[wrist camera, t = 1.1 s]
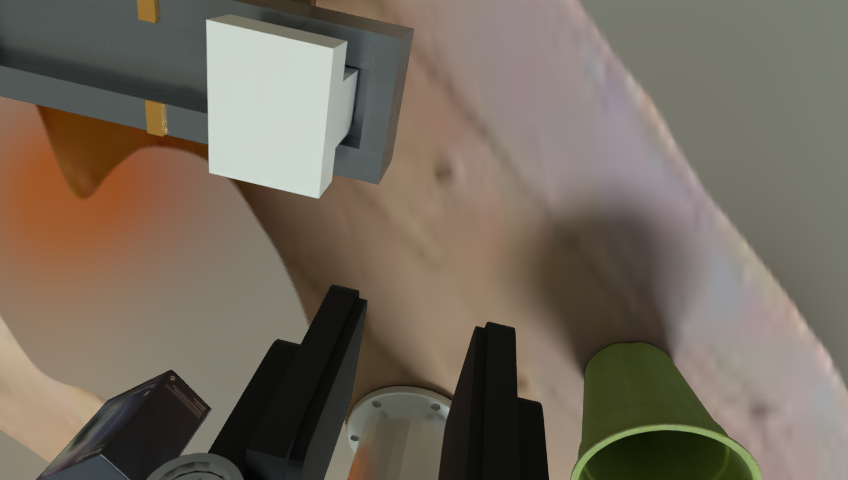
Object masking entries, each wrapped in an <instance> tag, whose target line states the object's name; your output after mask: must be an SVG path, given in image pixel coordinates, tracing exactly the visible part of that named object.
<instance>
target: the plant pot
mask: <svg viewBox="0 0 848 480" xmlns="http://www.w3.org/2000/svg"><path fill="white" fill-rule="evenodd" d="M570 480H762V476H761V472H760V469H759V466H758V464H757V462H756V461H755V459H754V458H753V456H752V455H751V454H750V453H749V452H748V451H747V450H746V449H745V448H744V447H743V446H742V445H740V444H739V443H738V442H736V441H735V440H733V439H732V438H730V437H729V436H728V435H727V433H726V432H725V431H724V430H723V428H722V427H721V426H720V425H719V424H718V423H717V422H715V421H714V420H713V419H712V417H711V416H710V414H709V413H708V412H707V410H706V409H705V407H704V406H703V405H702V403H701V402H700V400H699V399H698V397H697V396H696V395H695V393H694V392H693V390H692V389H691V388H690V386H689V385H688V383H687V382H686V380H685V379H684V377H683V376H682V375H681V373H680V372H679V370H678V369H677V367H676V366H675V364H674V363H673V362H672V360H671V359H670V358H669V356H668V355H667V354H666V353H665V352H663V351H662V350H661V349H659V348H657V347H655V346H653V345H650V344H647V343H643V342H636V343H617V344H613V345H610V346H608V347H606V348H604V349H602V350H601V351H599V352H598V353H596V354H595V355H594V356H593V357H592V359H591V360H590V361H589V363H588V365H587V367H586V370H585V377H584V400H583V421H582V441H581V444H580V447H579V452H578V461H577V462H576V464H575V466H574V468H573V471H572V474H571V478H570Z"/></svg>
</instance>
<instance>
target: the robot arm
mask: <svg viewBox="0 0 848 480" xmlns="http://www.w3.org/2000/svg"><path fill="white" fill-rule="evenodd" d="M366 309H367V300H365V299H361V298H359V291H358V290H354V289H350V288H346V287H342V286H338V285H332V286H331V287H330V289H329V291H328V293H327V295H326V297H325V299H324V300H323V302H322V304H321V306H320V308H319V310H318V312H317V314H316V316H315V318H314V320H313V322H312V324H311V325H310V327H309V329H308V331H307V333H306V335H305V337H304V339H303V341H302V343H301V345H300V344H296V343H292V342H288V341H284V340H280V339H277V340H276V341H274V343H273V344H272V346H271V347H270V349H269V350H268V352H267V354H266V355H265V357H264V359H263V360H262V362H261V364H260V365H259V367H258V369H257V371H256V372H255V374H254V376H253V377H252V379H251V381H250V383H249V384H248V386H247V387H246V389H245V391H244V392H243V394H242V396H241V398H240V399H239V401H238V403H237V404H236V406H235V408H234V410H233V411H232V413H231V414H230V416H229V418H228V419H227V421H226V423H225V424H224V426H223V428H222V430H221V431H220V433H219V435H218V436H217V438H216V440H215V441H214V443H213V445H212V446H211V448H210V450H209V451H208V453H194V454H189V455H183V456H180V457H178V458H176V459H173V460H171V461H169V462H166V463H165V464H164V465H162V466H161V467H159V468H158V469H157V470H155V471H154V472H153V473H152V474H151V475H150V476H149V477H148V478H147V480H324V478H325V475H326V472H327V469H328V466H329V463H330V460H331V457H332V454H333V451H334V448H335V446H336V443H337V440H338V437H339V434H340V431H341V428H342V425H343V422H344V419H345V416H346V413H347V410H348V407H349V404H350V400H351V396H352V390H353V385H354V379H355V373H356V367H357V361H358V355H359V350H360V344H361V338H362V332H363V326H364V320H365V314H366ZM346 432H347V439H348V442H349V444H350V447H351V449H352V450H353V452H354V453H355V456H354V459H353V462H352V466H351V469H350V473H349V476H348V479H347V480H549V474H548V463H547V451H546V440H545V428H544V417H543V409H542V405H541V403H540V402H536V401H532V400H528V399H524V398H519V397H517V365H516V334H515V328H513V327H509V326H505V325H501V324H497V323H492V322H487V323H486V326H485V328H482V327H478V326H476V327H475V329H474V332H473V335H472V338H471V342H470V345H469V348H468V351H467V355H466V358H465V361H464V364H463V367H462V371H461V374H460V377H459V380H458V384H457V387H456V390H455V393H454V396H453V400H452V401H451V400H449V399H448V398H446V397H445V396H443V395H440V394H438V393H435V392H433V391H430V390H426V389H422V388H418V387H409V386H393V387H388V388H382V389H379V390H377V391H374V392H371V393H370V394H368V395H366V396H365V397H363V398H362V399H361V400H360V401H359V402H358V403H357V404H356V405H355V406H354V408H353V410H352V411H351V414H350V417H349V420H348V422H347V430H346Z"/></svg>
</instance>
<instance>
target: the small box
mask: <svg viewBox="0 0 848 480" xmlns="http://www.w3.org/2000/svg"><path fill="white" fill-rule="evenodd" d="M210 412H211V408H210V407H209V406H208V405H207V404H206V403H205V402H204V401H203V400H202V399H201V398H200V397H199V396H198V395H197V394H196V393H195V392H194V391H193V390H192V389H191V388H190V387H189V386H188V385H187V384H186V383H185V382H184V381H183V380H182V379H181V378H180V377H179V376H178V375H177V374H176V373H175V372H174V371H173V370H169V371H167V372H165V373H163V374H161V375H159V376H157V377H155V378H153V379H151V380H148V381H146V382H144V383H142V384H140V385H138V386H136V387H134V388H132V389H130V390H128V391H126V392H124V393H122V394H120V395H118V396H116V397H113V398H111V399H109V400H108V401H107V402H106V403H105V404H104V405H103V406H102V407H101V408H100V409H99V411H98V412H97V413H96V414H95V415H94V416H93V417H92V418H91V420H90V421H89V422H88V423H87V424H86V425H85V426H84V427H83V428H82V429H81V430H80V432H79V433H78V434H77V435H76V436H75V437H74V438H73V440H72V441H71V442H70V443H69V444H68V445H67V446H66V447H65V448H64V449H63V450H62V452H61V453H60V454H59V455H58V456H57V457H56V458H55V459H54V460H53V462H52V463H51V464H50V465H49V466H48V467H47V468H46V469H45V471H43V472H42V474H41V475H40V476H39V477H38V478H37V479H36V480H147V478H148V477H149V476H150V475H151V474H152V473H153V472H154V471H155V470H157V469H158V468H159V467H161V466H162V465H164V464H165V463H166V462H169V461H171V460H173V459H176V458H178V457H180V456H181V454H182V452H183V451H184V449H185V448H186V446H187V445H188V443H189V442H190V440H191V439H192V437H193V436H194V434H195V433H196V432H197V430H198V429H199V427H200V426H201V424H202V423H203V422H204V420H205V419H206V417H207V415H209V413H210Z"/></svg>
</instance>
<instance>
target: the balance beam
mask: <svg viewBox="0 0 848 480" xmlns="http://www.w3.org/2000/svg"><path fill="white" fill-rule="evenodd" d="M315 6H316V0H0V96H3V97H7V98H11V99H15V100H20V101H24V102H28V103H32V104H37V105H41V106H45V107H49V108H54V109H58V110H62V111H67V112H71V113H75V114H79V115H84V116H88V117H92V118H96V119H101V120H105V121H109V122H114V123H118V124H122V125H126V126H131V127H135V128H139V129H144V130H147V133H149V134H154V135H158V136H162V137H163V136H165V135H169V136H173V137H178V138H182V139H186V140H191V141H195V142H199V143H203V144H208V145H209V143H208V87H207V31H206V20H207V19H211V18H216V17H220V16H225V15H229V14H231V15H236V16H240V17H244V18H249V19H253V20H258V21H262V22H266V23H271V24H275V25H280V26H284V27H288V28H293V29H297V30H302V31H306V32H310V33H315V34H319V35H323V36H328V37H332V38H337V39H341V40H345V41H347V49H346V58H345V67H347V68H352V69H356V70H358V75H357V83H356V91H355V99H354V107H353V115H352V123H351V130H350V132H349V133H348V134H347V135H346V136H345V137H344V138H343V140H342V141H341V142H340V143H339V144H338V145H337V147H336V148H335V156H334V165H333V174H336V175H340V176H344V177H349V178H353V179H357V180H361V181H366V182H370V183H374V184H379V183H380V181H381V179H382V177H383V175H384V173H385V172H386V170H387V168H388V166H389V164H390V162H391V161H392V155H393V149H394V143H395V137H396V132H397V126H398V120H399V114H400V108H401V102H402V96H403V91H404V85H405V79H406V73H407V67H408V61H409V55H410V50H411V44H412V38H413V32H414V29H413V28H408V27H404V26H399V25H395V24H390V23H386V22H382V21H377V20H373V19H368V18H364V17H360V16H355V15H351V14H346V13H342V12H338V11H333V10H329V9H324V8H320V7H315Z"/></svg>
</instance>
